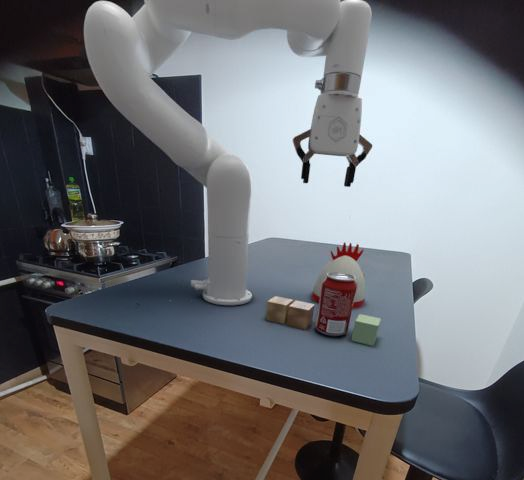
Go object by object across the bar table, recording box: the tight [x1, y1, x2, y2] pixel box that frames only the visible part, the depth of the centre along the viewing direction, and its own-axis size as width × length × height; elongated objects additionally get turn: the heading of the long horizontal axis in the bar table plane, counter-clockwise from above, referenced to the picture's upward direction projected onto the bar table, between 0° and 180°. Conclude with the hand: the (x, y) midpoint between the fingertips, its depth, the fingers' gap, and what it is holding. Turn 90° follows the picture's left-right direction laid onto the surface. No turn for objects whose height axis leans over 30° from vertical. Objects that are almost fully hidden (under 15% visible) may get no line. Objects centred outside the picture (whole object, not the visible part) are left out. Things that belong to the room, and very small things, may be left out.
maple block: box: [265, 295, 294, 325], centre depth 71 cm, size 4×4×4 cm
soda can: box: [314, 272, 357, 337], centre depth 65 cm, size 7×7×12 cm
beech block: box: [286, 299, 316, 330], centre depth 69 cm, size 4×4×4 cm
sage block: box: [350, 313, 382, 347], centre depth 64 cm, size 4×4×4 cm
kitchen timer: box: [311, 241, 366, 309], centre depth 83 cm, size 14×14×15 cm
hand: (326, 184), depth 72 cm, fingers open, 9 cm apart
